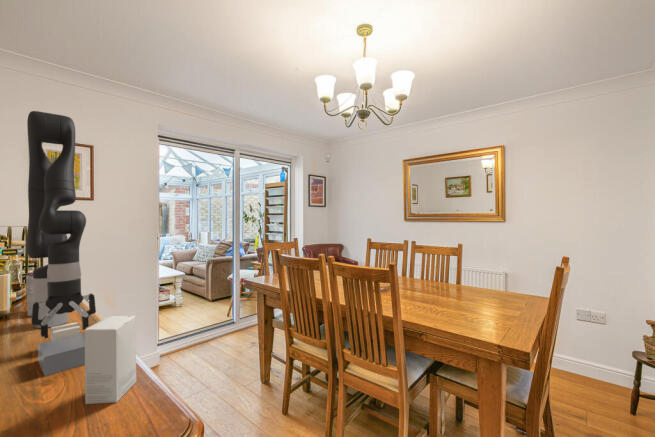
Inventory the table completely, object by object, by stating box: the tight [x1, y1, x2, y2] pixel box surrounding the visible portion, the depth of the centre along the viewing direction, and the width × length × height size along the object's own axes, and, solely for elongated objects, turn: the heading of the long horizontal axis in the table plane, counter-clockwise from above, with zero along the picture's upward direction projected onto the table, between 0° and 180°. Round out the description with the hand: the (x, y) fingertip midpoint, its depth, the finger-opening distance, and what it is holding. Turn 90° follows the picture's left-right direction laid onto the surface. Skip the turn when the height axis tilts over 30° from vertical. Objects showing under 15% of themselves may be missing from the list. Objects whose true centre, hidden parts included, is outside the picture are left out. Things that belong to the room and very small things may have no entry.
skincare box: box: [84, 315, 137, 405], centre depth 67 cm, size 8×7×16 cm
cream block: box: [50, 321, 81, 341], centre depth 91 cm, size 6×6×6 cm
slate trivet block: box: [37, 332, 85, 377], centre depth 83 cm, size 12×12×5 cm
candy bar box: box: [25, 273, 34, 318], centre depth 125 cm, size 11×5×16 cm, turn 168°
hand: (65, 333), depth 91 cm, fingers open, 8 cm apart
